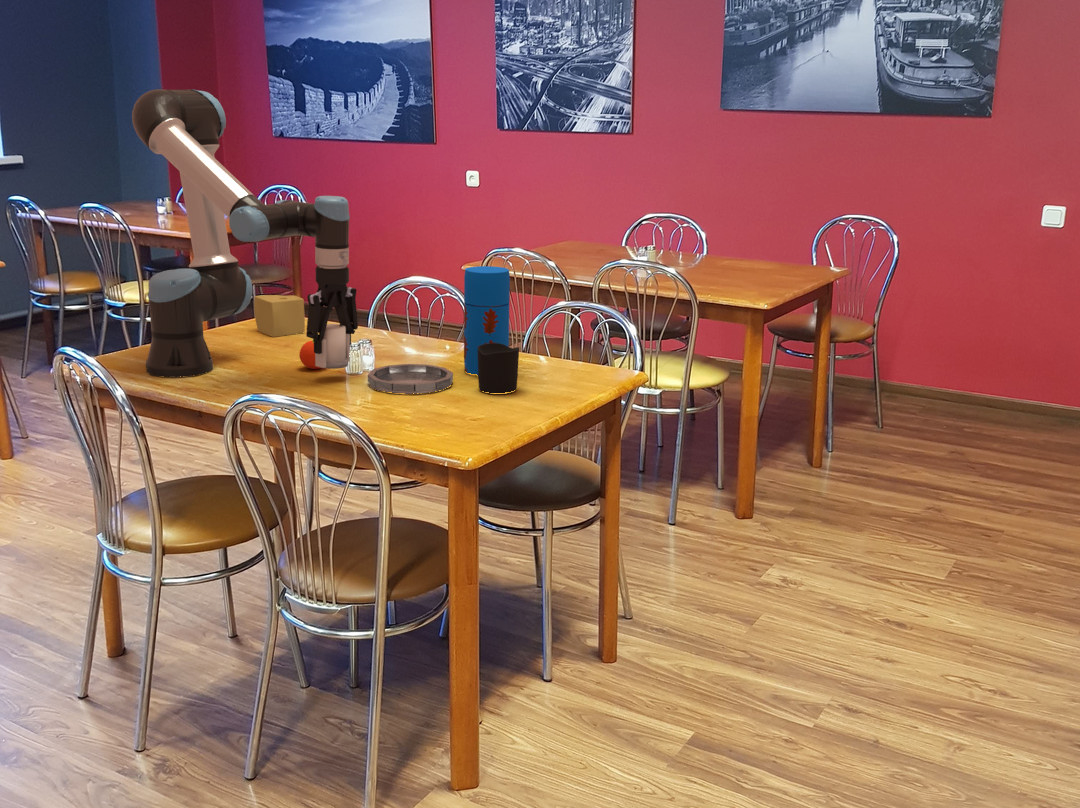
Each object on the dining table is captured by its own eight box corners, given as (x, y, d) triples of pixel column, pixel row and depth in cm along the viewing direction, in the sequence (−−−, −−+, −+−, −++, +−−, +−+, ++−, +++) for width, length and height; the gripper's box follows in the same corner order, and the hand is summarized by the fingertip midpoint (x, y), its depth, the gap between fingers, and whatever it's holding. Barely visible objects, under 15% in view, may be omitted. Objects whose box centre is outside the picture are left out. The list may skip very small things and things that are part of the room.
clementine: (337, 367, 269) (337, 338, 267) (325, 373, 262) (324, 344, 260) (308, 364, 271) (307, 336, 269) (294, 370, 264) (293, 341, 262)
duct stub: (333, 370, 251) (333, 332, 249) (310, 364, 255) (309, 326, 253) (354, 364, 257) (354, 327, 255) (331, 359, 261) (331, 322, 258)
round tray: (416, 399, 242) (416, 388, 242) (352, 385, 252) (351, 375, 252) (468, 382, 258) (468, 372, 257) (405, 369, 268) (405, 360, 267)
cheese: (288, 327, 313) (287, 292, 310) (307, 333, 305) (305, 298, 302) (254, 331, 306) (252, 295, 303) (272, 338, 298) (270, 301, 295)
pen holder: (515, 384, 257) (516, 342, 254) (520, 395, 248) (521, 352, 245) (475, 385, 255) (475, 343, 252) (479, 396, 246) (479, 352, 244)
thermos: (468, 378, 261) (469, 273, 254) (459, 367, 271) (460, 266, 264) (513, 376, 264) (514, 272, 257) (502, 365, 274) (504, 265, 267)
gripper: (312, 273, 240) (313, 374, 246) (374, 263, 256) (373, 358, 262) (287, 268, 243) (289, 368, 250) (350, 258, 260) (350, 353, 266)
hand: (332, 363), depth 256 cm, fingers closed on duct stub, 7 cm apart
